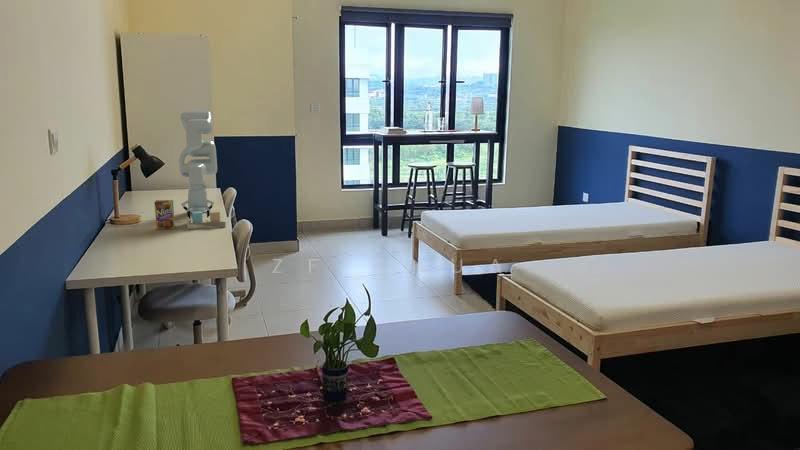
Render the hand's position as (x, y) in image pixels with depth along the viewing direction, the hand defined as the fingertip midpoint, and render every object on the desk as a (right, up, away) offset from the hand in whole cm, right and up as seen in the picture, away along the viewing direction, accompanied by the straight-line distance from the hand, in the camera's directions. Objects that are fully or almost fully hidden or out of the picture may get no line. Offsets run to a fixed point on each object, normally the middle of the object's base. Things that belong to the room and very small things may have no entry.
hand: (198, 217), depth 345 cm
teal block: (+1, -4, -5) cm, 6 cm away
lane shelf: (+7, -5, -8) cm, 12 cm away
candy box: (-13, -6, -14) cm, 20 cm away
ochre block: (+12, -5, -7) cm, 14 cm away
